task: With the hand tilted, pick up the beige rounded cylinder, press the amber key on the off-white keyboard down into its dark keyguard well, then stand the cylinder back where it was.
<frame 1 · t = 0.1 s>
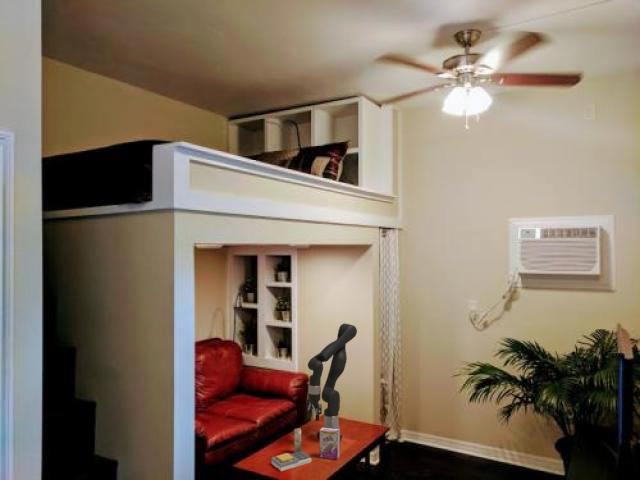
hand: (313, 418, 304), 17 cm above the table, tool pointing down, fingers open, 8 cm apart
candy bar box: (329, 457, 289), on the table
amber key: (284, 457, 280), point 4 cm above the table, slide at 0.0 cm
beige rounded cylinder: (298, 452, 296), on the table
keyboard: (291, 462, 282), on the table
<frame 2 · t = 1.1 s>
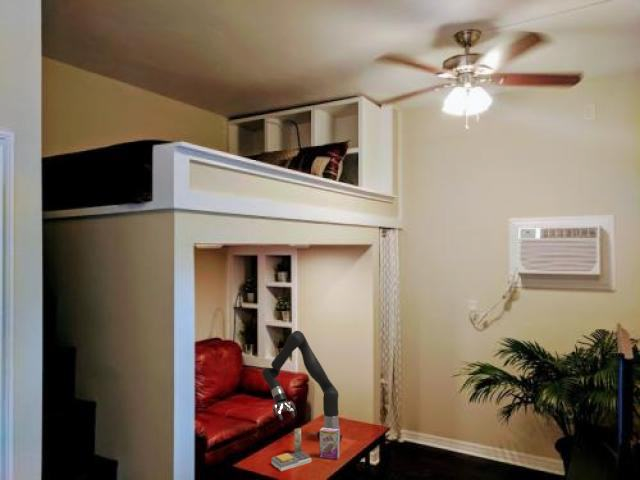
hand: (288, 418, 305), 17 cm above the table, tool tilted 45°, fingers open, 8 cm apart
nothing on the table moved.
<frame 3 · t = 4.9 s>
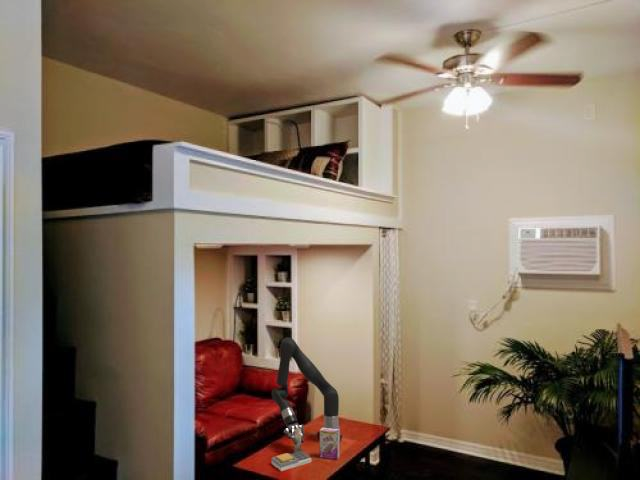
hand: (299, 443, 294), 6 cm above the table, tool tilted 45°, fingers closed on beige rounded cylinder, 4 cm apart
beige rounded cylinder: (298, 452, 296), on the table, touching gripper
everything else where it was.
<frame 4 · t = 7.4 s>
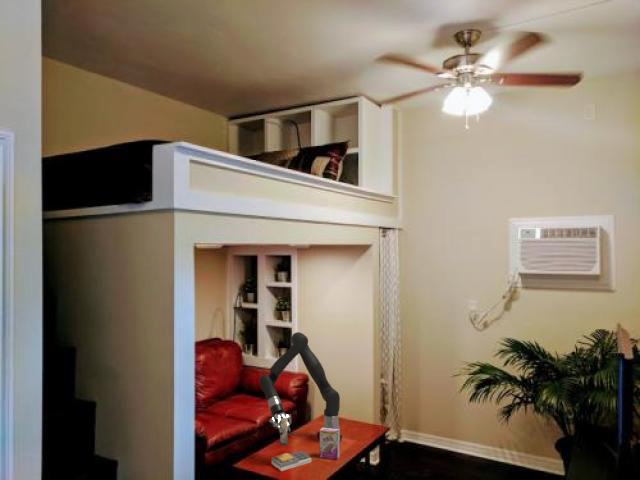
hand: (285, 433, 279), 18 cm above the table, tool tilted 45°, fingers closed on beige rounded cylinder, 4 cm apart
beige rounded cylinder: (284, 443, 281), point 12 cm above the table, touching gripper
everything else where it was.
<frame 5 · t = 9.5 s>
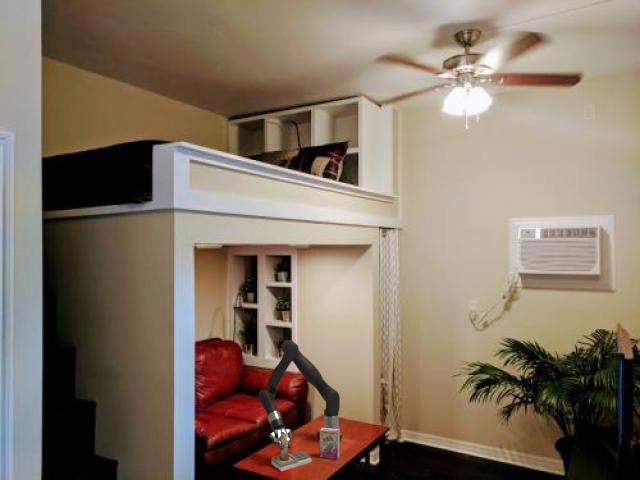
hand: (286, 448, 278), 10 cm above the table, tool tilted 45°, fingers closed on beige rounded cylinder, 4 cm apart
amber key: (284, 460, 280), point 3 cm above the table, slide at 1.3 cm, touching beige rounded cylinder
beige rounded cylinder: (284, 458, 280), point 3 cm above the table, touching amber key, gripper
everything else where it was.
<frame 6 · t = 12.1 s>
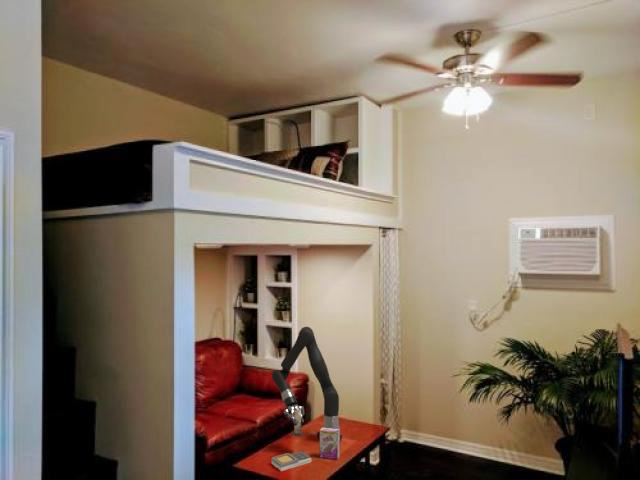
hand: (299, 424, 294), 18 cm above the table, tool tilted 45°, fingers closed on beige rounded cylinder, 4 cm apart
amber key: (284, 460, 280), point 3 cm above the table, slide at 1.3 cm
beige rounded cylinder: (297, 433, 296), point 11 cm above the table, touching gripper
everything else where it was.
when the fingers open (7 cm above the table, at t = 14.4 s): beige rounded cylinder stays where it is, on the table.
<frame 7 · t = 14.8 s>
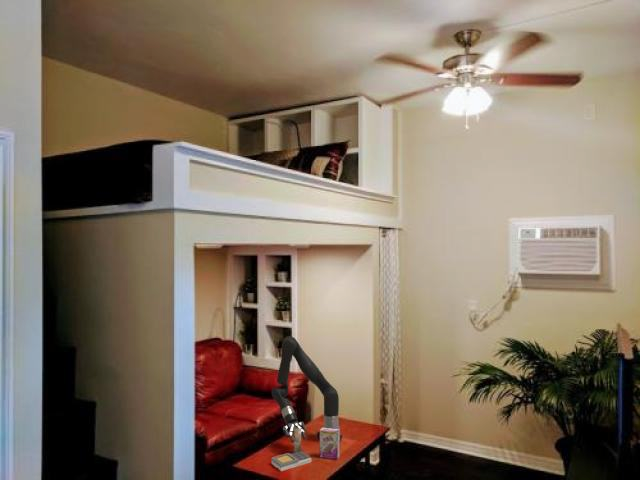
hand: (299, 440, 294), 8 cm above the table, tool tilted 45°, fingers open, 7 cm apart
beige rounded cylinder: (297, 452, 296), on the table
everything else where it was.
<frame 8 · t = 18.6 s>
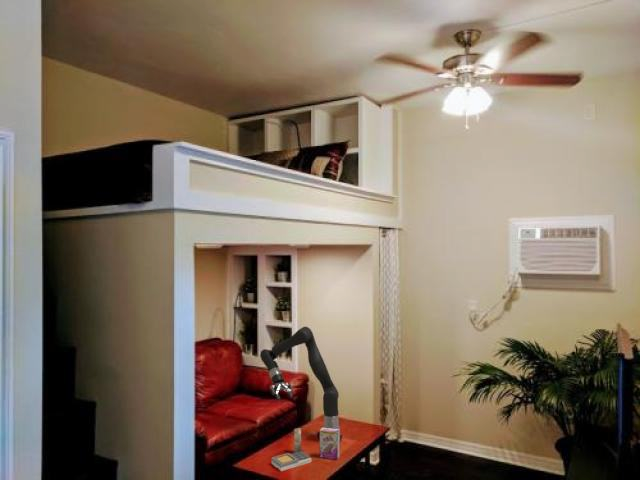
hand: (285, 398, 308), 29 cm above the table, tool tilted 45°, fingers open, 8 cm apart
nothing on the table moved.
at the end: amber key slide at 1.3 cm; beige rounded cylinder tilted 0°; the gripper is holding nothing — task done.
